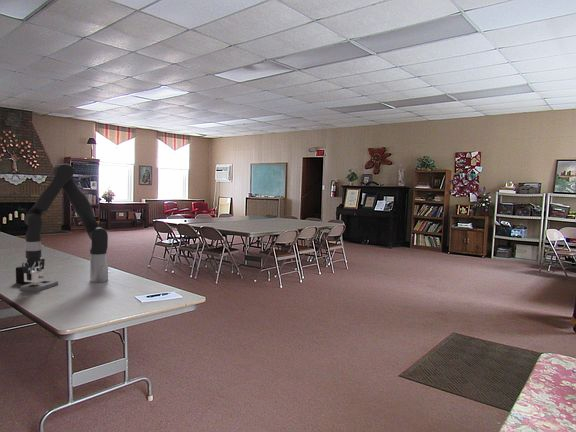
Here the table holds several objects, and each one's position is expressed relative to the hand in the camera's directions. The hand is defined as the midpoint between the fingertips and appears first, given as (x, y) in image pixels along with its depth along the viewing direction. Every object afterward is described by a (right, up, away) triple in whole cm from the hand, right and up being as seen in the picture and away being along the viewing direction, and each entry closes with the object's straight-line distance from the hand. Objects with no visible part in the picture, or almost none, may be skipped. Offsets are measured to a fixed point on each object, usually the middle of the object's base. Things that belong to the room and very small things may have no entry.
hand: (33, 278), depth 229 cm
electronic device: (-12, -5, +12) cm, 18 cm away
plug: (0, -3, 0) cm, 3 cm away
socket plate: (0, -6, +4) cm, 7 cm away
